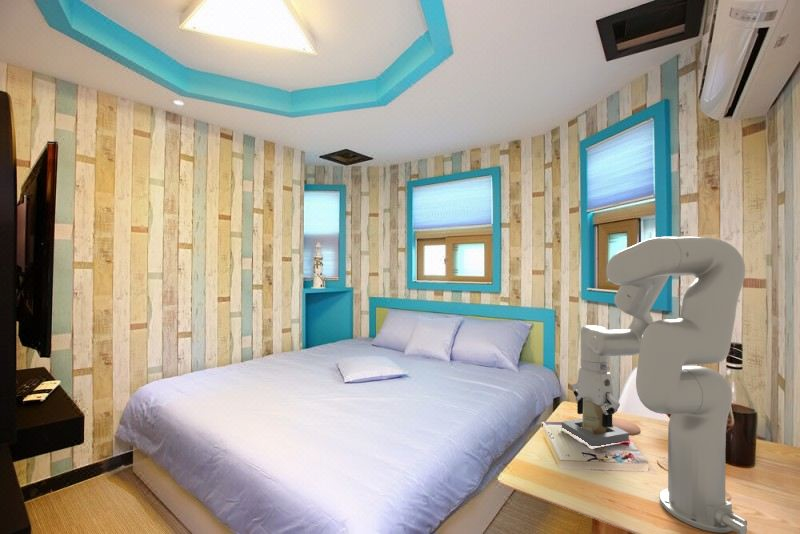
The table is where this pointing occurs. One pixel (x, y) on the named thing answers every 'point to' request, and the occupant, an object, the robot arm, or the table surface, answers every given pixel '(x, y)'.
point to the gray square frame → (609, 437)
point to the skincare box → (592, 417)
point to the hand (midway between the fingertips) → (594, 419)
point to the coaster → (626, 426)
